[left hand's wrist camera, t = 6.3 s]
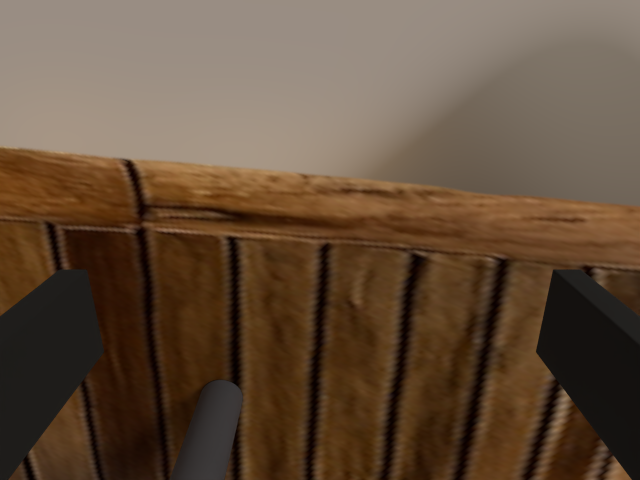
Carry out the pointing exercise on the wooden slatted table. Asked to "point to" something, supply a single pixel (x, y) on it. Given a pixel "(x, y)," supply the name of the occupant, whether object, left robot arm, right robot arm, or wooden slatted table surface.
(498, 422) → the wooden slatted table surface
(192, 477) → the dark grey slim bottle
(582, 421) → the wooden slatted table surface
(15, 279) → the wooden slatted table surface
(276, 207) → the wooden slatted table surface
